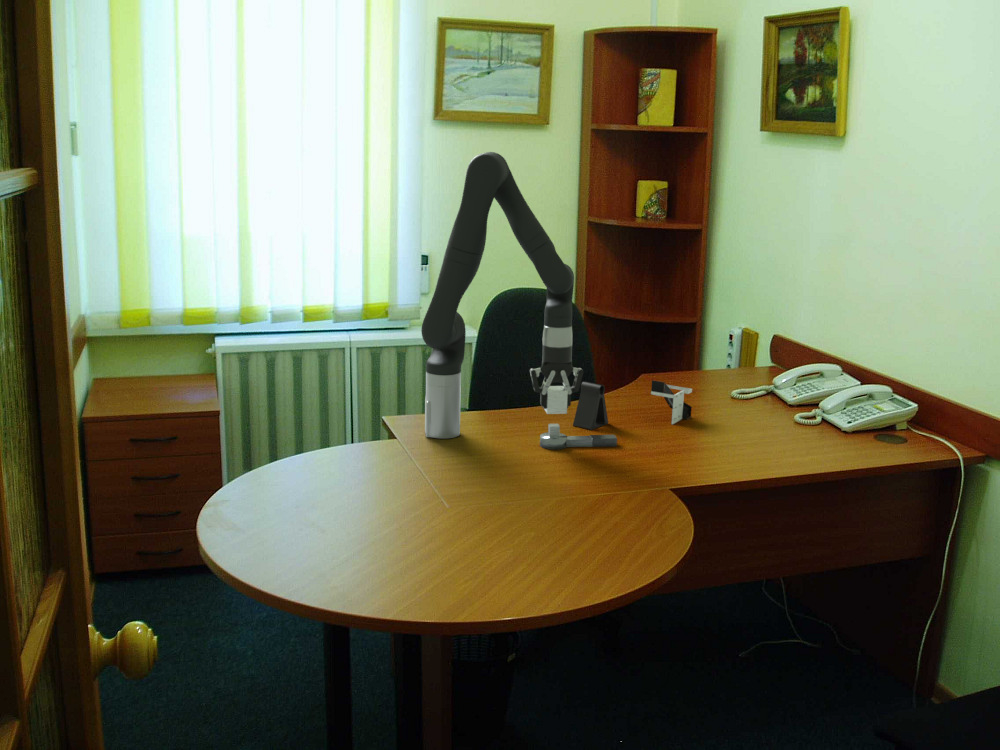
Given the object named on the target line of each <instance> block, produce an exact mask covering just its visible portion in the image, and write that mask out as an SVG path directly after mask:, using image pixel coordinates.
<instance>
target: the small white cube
mask: <svg viewBox="0 0 1000 750" xmlns="http://www.w3.org/2000/svg"><path fill="white" fill-rule="evenodd" d="M546 395H547V401H546V409H543V410H544V411H545V413H546V414H547V415H558V414H559V415H562V414H563V415H564V414H566V415H567V414H568V408H567V396H568V391H567V389H566V388H565V387H564V385H550V387H549V388H548V390H547V393H546Z"/></svg>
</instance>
